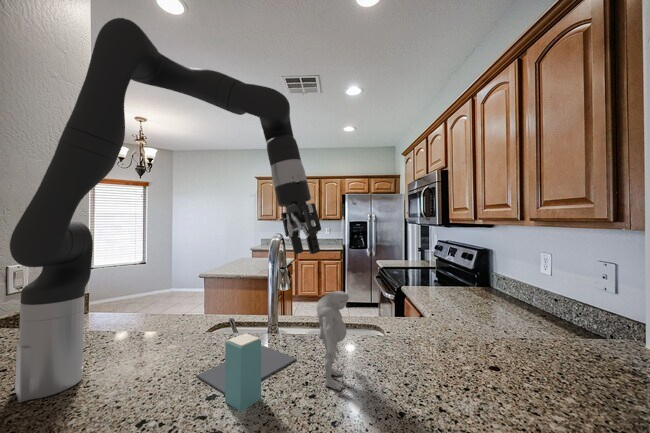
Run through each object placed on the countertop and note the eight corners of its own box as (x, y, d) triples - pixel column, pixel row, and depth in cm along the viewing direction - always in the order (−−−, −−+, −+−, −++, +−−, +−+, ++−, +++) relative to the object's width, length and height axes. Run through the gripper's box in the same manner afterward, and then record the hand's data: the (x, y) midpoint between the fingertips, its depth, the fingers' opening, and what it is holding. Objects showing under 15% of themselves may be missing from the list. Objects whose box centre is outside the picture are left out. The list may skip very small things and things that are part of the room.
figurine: (354, 409, 48) (354, 304, 48) (316, 409, 47) (315, 304, 48) (346, 359, 65) (345, 283, 66) (317, 359, 65) (317, 283, 66)
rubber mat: (230, 397, 51) (230, 395, 51) (196, 376, 58) (196, 375, 58) (296, 360, 65) (296, 358, 65) (263, 347, 72) (263, 345, 72)
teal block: (240, 411, 47) (240, 346, 47) (225, 401, 50) (225, 340, 50) (260, 398, 51) (261, 338, 51) (245, 390, 53) (246, 332, 54)
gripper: (265, 191, 67) (280, 257, 66) (286, 177, 54) (305, 258, 54) (293, 187, 70) (307, 249, 70) (319, 173, 58) (336, 248, 58)
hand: (306, 253), depth 62 cm, fingers open, 8 cm apart
